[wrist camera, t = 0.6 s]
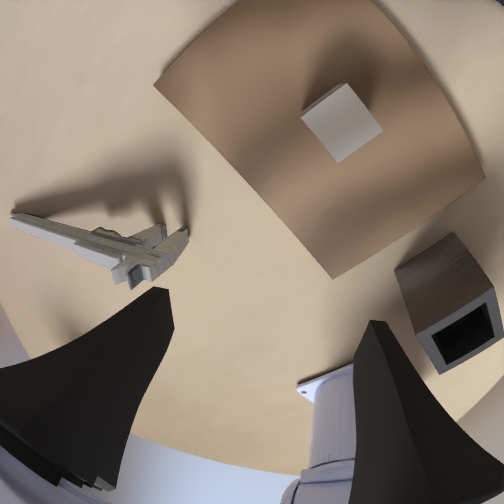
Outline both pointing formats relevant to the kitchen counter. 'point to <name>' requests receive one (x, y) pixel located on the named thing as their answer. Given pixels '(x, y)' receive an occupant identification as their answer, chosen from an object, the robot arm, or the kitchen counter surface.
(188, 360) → the kitchen counter surface
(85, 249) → the caliper
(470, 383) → the kitchen counter surface
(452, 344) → the steel collar
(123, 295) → the kitchen counter surface
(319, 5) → the post base
